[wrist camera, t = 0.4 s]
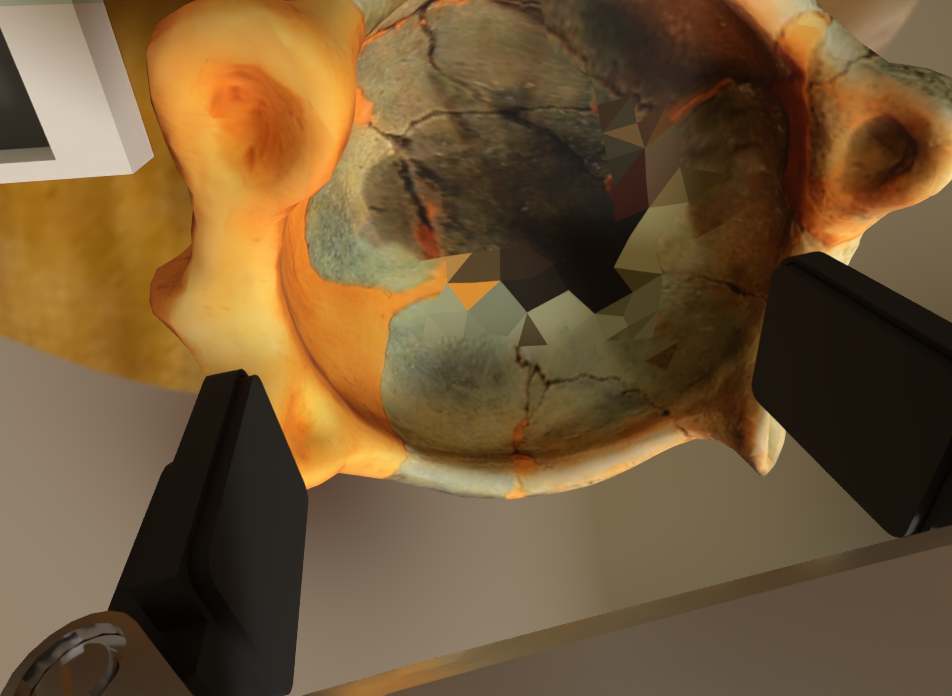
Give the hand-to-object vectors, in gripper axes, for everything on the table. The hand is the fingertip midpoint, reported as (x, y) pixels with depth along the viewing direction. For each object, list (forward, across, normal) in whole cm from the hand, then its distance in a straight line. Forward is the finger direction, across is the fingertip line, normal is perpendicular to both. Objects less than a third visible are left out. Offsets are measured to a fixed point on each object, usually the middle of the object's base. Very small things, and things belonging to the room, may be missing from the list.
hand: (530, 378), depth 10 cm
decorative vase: (+31, -2, +1) cm, 31 cm away
